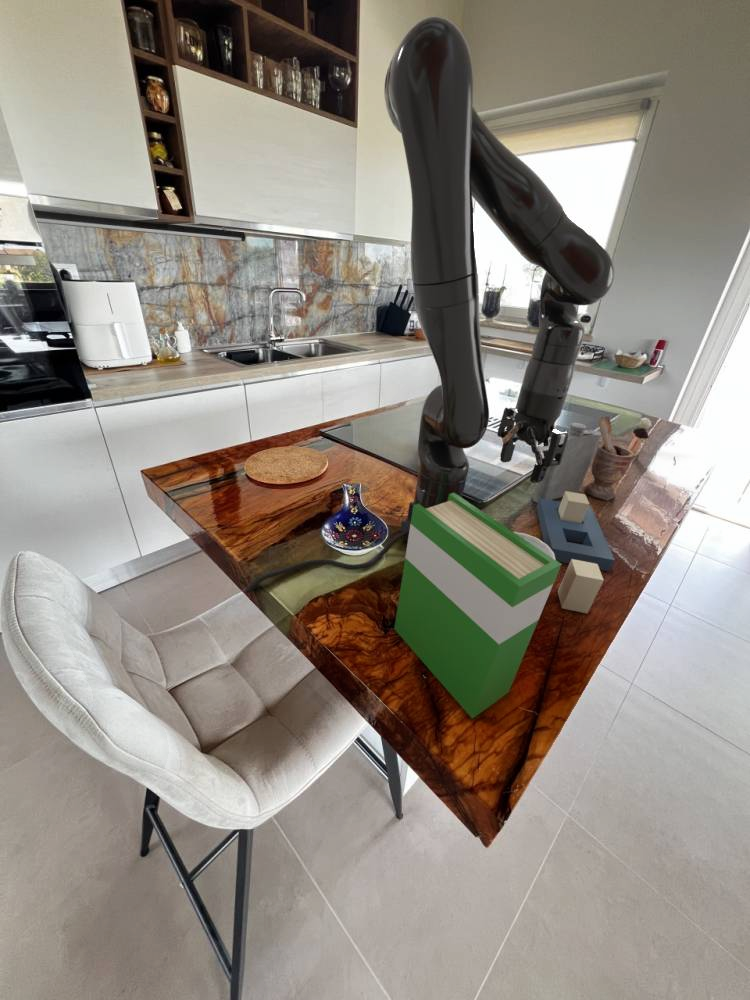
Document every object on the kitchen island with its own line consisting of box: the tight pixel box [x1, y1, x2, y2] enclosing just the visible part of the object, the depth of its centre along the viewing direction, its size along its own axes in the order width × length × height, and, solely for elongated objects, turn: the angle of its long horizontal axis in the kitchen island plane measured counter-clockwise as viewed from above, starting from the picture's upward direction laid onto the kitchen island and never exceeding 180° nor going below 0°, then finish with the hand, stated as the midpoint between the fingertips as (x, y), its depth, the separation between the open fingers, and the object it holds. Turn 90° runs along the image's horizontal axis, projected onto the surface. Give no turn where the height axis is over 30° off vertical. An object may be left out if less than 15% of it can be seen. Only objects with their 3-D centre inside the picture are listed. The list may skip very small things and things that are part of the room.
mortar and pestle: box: [584, 415, 635, 501], centre depth 110 cm, size 12×9×20 cm
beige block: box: [557, 559, 605, 614], centre depth 74 cm, size 4×4×8 cm
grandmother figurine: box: [627, 417, 652, 457], centre depth 137 cm, size 8×4×13 cm, turn 17°
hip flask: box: [532, 422, 602, 504], centre depth 106 cm, size 16×4×20 cm, turn 118°
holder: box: [536, 498, 616, 572], centre depth 94 cm, size 12×21×3 cm, turn 168°
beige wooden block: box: [558, 491, 590, 523], centre depth 96 cm, size 4×4×8 cm
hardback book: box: [393, 493, 562, 719], centre depth 57 cm, size 18×7×24 cm, turn 34°
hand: (519, 471), depth 79 cm, fingers open, 8 cm apart
